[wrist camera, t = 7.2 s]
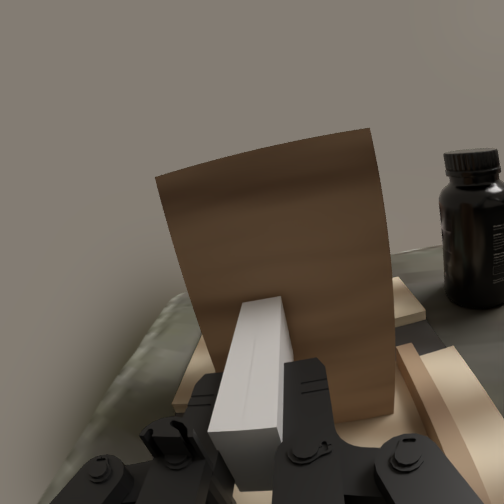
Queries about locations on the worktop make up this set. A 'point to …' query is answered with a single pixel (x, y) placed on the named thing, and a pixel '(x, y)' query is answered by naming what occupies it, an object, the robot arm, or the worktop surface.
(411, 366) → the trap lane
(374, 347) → the walnut block
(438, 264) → the worktop surface
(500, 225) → the supplement bottle
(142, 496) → the robot arm
